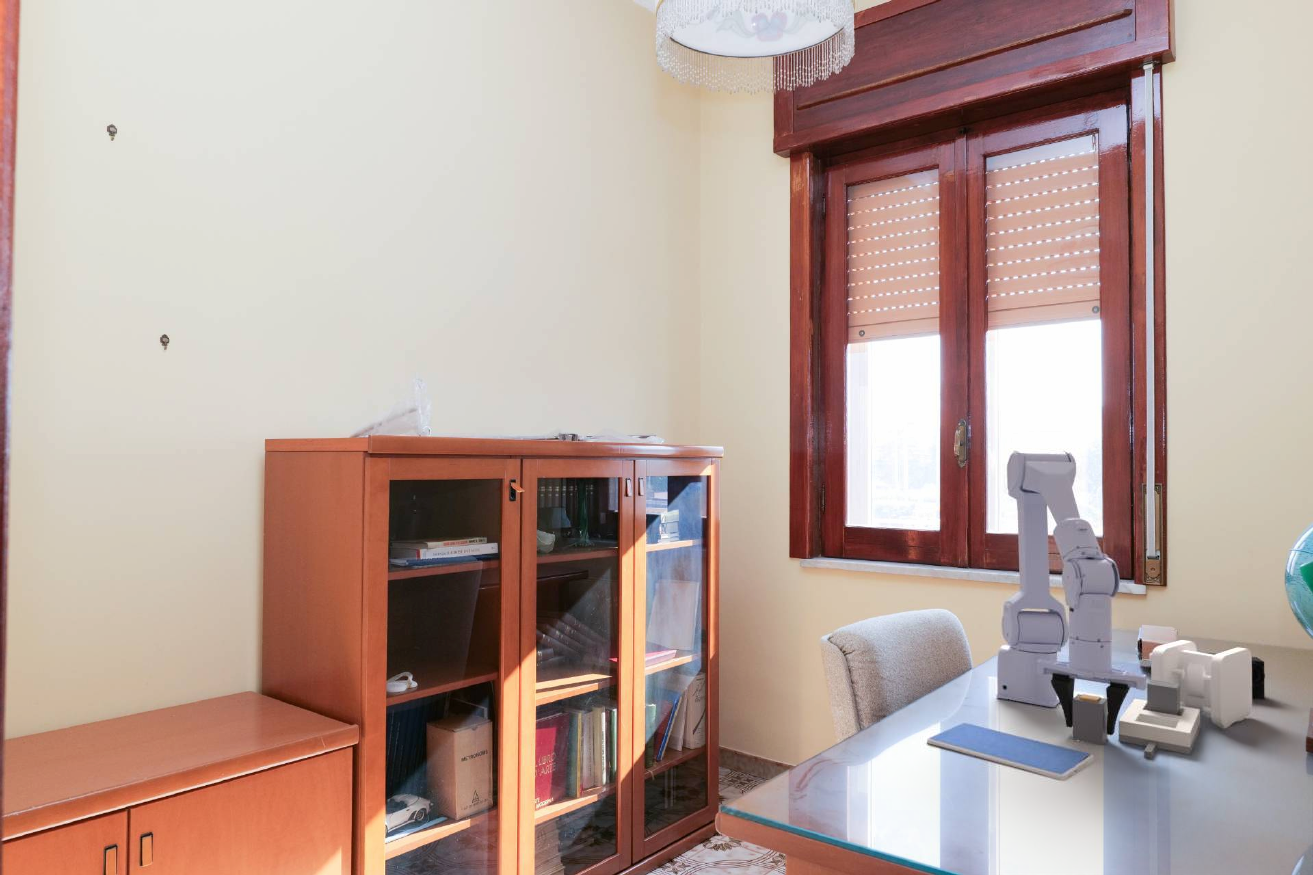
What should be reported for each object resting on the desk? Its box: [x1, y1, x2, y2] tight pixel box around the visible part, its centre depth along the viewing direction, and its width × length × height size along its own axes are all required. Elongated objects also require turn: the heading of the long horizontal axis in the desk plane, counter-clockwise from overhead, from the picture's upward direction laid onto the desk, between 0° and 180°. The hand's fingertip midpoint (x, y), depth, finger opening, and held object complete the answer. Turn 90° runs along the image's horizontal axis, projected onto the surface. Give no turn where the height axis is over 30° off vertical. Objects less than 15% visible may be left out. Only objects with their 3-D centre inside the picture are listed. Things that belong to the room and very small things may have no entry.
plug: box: [1072, 693, 1108, 746], centre depth 124 cm, size 4×4×6 cm
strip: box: [1118, 679, 1201, 760], centre depth 124 cm, size 22×9×7 cm, turn 142°
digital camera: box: [1199, 651, 1266, 701], centre depth 152 cm, size 10×5×7 cm, turn 70°
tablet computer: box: [926, 722, 1095, 781], centre depth 117 cm, size 19×13×1 cm, turn 44°
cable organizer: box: [1148, 639, 1253, 729], centre depth 137 cm, size 15×11×12 cm
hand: (1090, 729), depth 124 cm, fingers open, 5 cm apart
